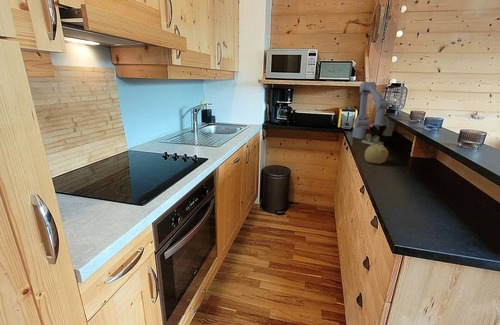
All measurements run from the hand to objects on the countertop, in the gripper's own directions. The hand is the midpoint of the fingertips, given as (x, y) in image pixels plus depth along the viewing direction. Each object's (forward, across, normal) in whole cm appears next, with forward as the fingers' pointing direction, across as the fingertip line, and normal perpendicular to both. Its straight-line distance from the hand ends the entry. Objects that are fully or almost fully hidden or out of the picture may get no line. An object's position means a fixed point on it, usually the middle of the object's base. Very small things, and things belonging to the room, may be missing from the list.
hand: (376, 136), depth 189 cm
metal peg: (+6, 0, 0) cm, 6 cm away
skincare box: (+7, +38, +22) cm, 44 cm away
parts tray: (+6, 0, +3) cm, 7 cm away
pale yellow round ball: (+6, -37, -33) cm, 50 cm away
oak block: (+6, 0, +6) cm, 8 cm away
